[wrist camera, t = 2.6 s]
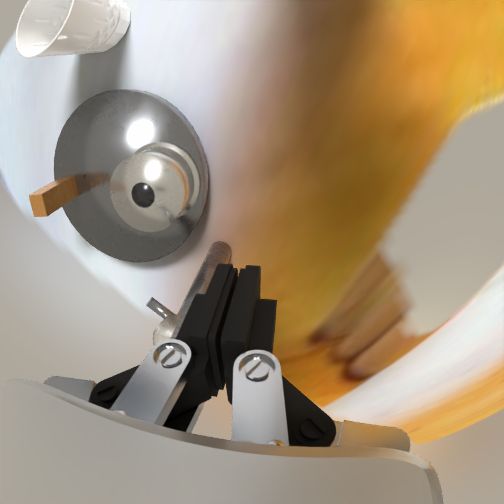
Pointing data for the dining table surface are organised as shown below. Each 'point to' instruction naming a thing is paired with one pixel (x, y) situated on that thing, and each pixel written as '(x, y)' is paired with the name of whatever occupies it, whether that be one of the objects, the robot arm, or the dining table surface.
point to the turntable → (104, 163)
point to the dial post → (189, 293)
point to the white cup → (70, 27)
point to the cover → (155, 186)
